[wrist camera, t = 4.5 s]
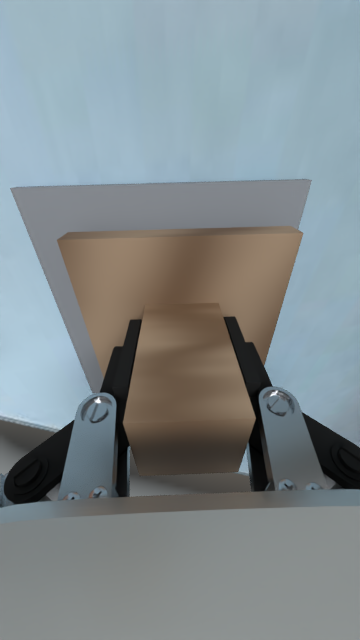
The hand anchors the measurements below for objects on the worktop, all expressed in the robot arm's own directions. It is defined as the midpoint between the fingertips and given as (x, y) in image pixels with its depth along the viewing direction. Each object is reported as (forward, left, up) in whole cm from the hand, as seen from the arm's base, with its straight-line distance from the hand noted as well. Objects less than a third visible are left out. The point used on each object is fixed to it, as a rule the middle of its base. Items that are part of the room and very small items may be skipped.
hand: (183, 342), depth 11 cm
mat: (+1, 0, -3) cm, 3 cm away
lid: (0, 0, -2) cm, 2 cm away
